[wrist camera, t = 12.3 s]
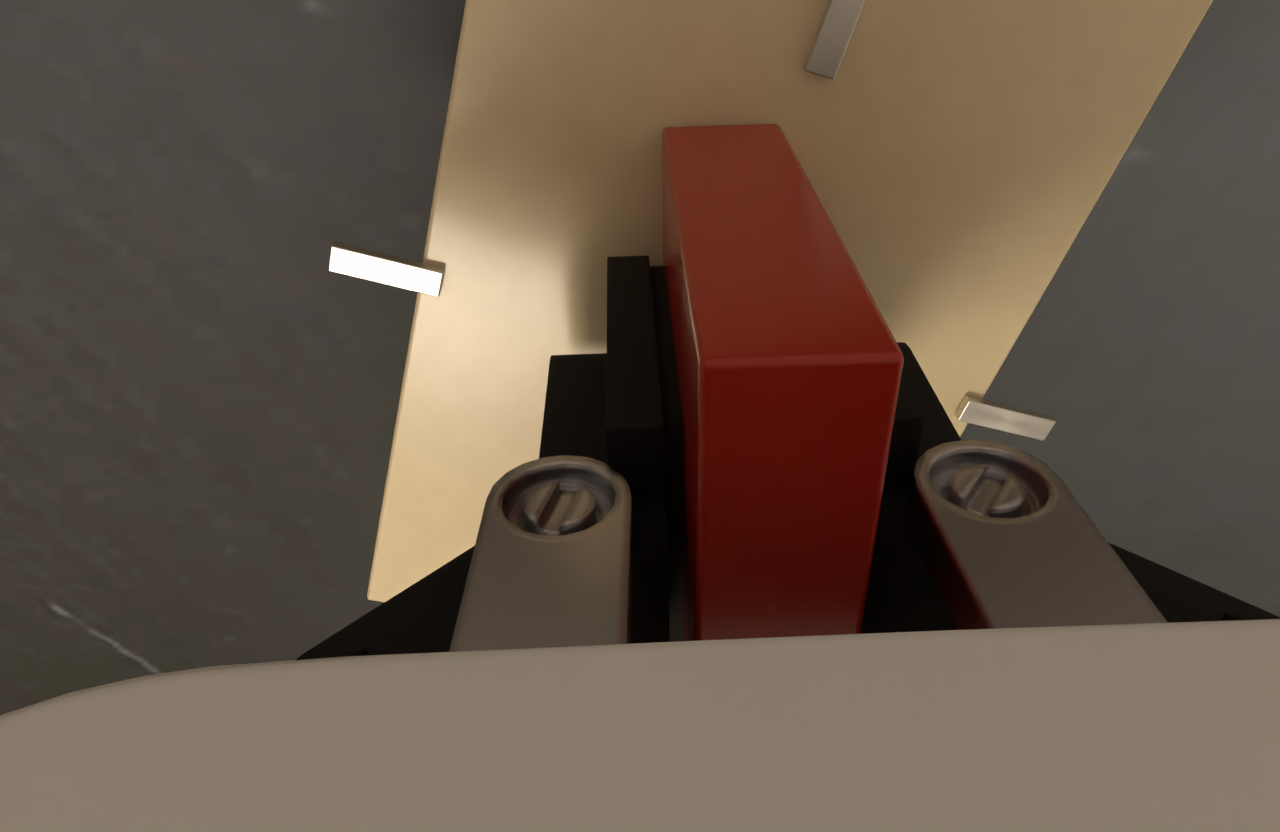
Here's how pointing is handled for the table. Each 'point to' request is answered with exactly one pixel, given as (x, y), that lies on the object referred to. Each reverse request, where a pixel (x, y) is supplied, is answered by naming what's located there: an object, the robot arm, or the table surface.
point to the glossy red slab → (771, 390)
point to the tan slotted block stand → (827, 151)
